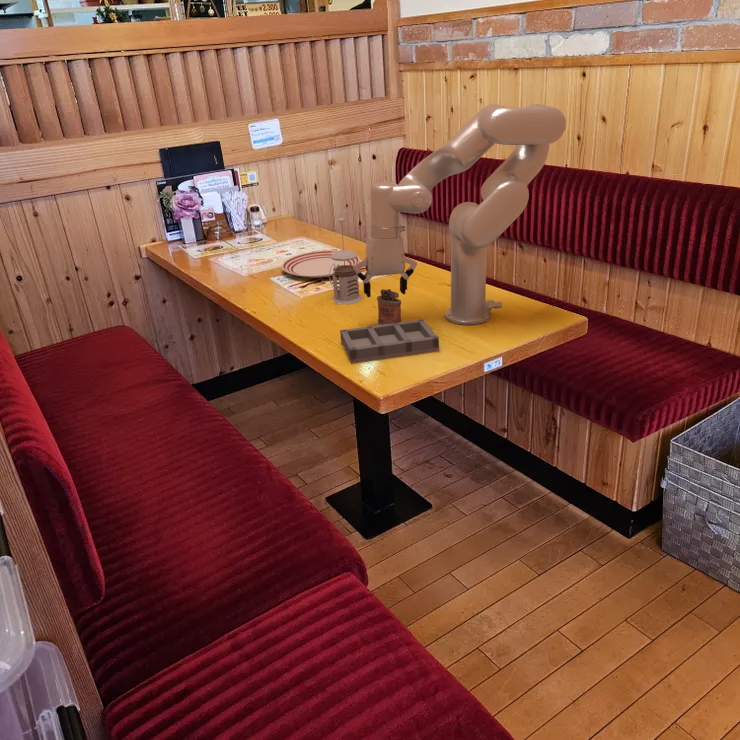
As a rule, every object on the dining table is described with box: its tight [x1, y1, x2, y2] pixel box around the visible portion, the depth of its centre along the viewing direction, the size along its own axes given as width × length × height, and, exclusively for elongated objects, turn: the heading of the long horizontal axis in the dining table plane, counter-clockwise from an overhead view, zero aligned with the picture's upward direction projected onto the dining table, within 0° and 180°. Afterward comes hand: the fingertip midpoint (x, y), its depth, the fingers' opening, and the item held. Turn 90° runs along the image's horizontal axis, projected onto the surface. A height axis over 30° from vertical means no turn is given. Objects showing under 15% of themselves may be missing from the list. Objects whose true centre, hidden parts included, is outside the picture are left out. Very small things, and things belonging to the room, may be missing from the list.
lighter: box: [376, 288, 402, 325], centre depth 183 cm, size 8×3×10 cm, turn 45°
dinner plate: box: [281, 250, 361, 279], centre depth 233 cm, size 27×27×3 cm
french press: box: [328, 217, 363, 305], centre depth 200 cm, size 10×12×25 cm
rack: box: [339, 318, 440, 364], centre depth 171 cm, size 22×14×4 cm, turn 103°
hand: (385, 294), depth 182 cm, fingers open, 9 cm apart
